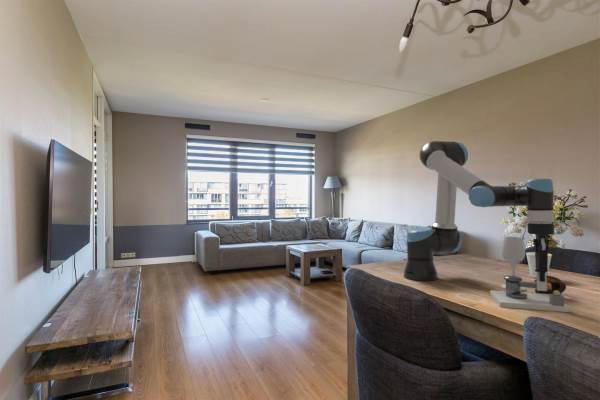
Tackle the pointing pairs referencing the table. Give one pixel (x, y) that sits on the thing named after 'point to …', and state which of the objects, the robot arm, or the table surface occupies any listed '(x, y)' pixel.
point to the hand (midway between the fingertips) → (541, 290)
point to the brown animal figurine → (553, 285)
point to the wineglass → (513, 253)
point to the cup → (532, 263)
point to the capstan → (516, 282)
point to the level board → (532, 301)
